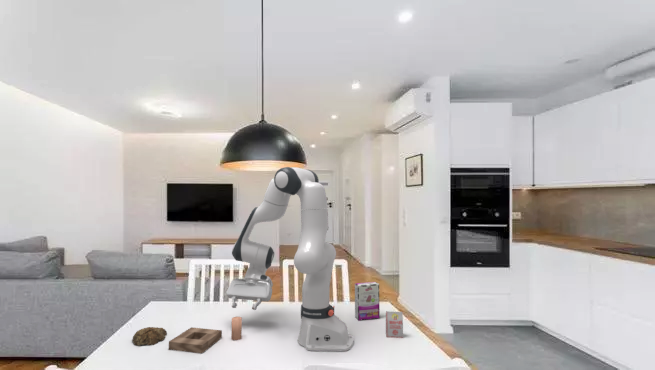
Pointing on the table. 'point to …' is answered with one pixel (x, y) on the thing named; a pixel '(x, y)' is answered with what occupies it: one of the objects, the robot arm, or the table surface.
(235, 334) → the pin
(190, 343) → the pin board
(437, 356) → the table surface
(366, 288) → the candy bar box
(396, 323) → the white red box
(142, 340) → the bread roll
